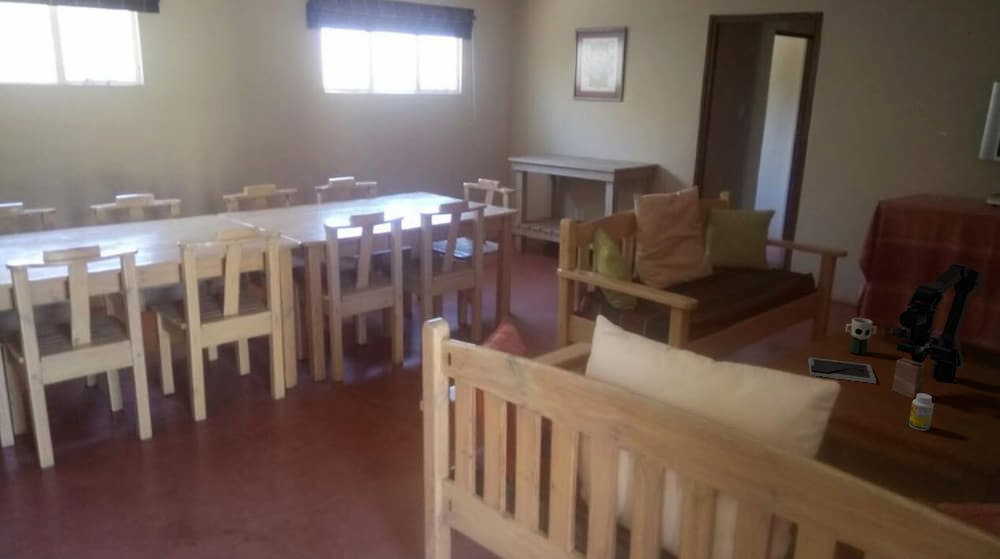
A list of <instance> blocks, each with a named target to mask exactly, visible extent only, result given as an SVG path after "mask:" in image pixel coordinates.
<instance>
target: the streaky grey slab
mask: <svg viewBox="0 0 1000 559" xmlns="http://www.w3.org/2000/svg"><path fill="white" fill-rule="evenodd" d="M924 369H925V364H924V363H922V364H921V363H918V362H915V361H912V359H908V358H905V357H902V358H898V359H897V360H896V363H895V369H894V374H893V375H894V376H893V383H892V388H891V392H894V391H895V392H894V393H897V392H898V393H897V394H900V395H902V394H903V396H905V395H906V397H908V398H910V399H913V398H916V396H917V394H918V393H921V388H922V383H923V382H922V381H923V376H924Z"/></svg>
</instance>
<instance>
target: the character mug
mask: <svg viewBox="0 0 1000 559" xmlns="http://www.w3.org/2000/svg"><path fill="white" fill-rule="evenodd" d="M849 327H850V329H849ZM872 329H873V331H872ZM877 330H878V326H876V325H873V320H870V319H868V318H862V317H854V318H852V319H851V323H847V324H846V325H845V333H850V336H852V338H851V341H850V345H849V350H848V351H850V352H851V353H853V354H856V355H858V354H861V355H866V354H868V340H867V339H869V338H871V336H872V335H876V334H877Z"/></svg>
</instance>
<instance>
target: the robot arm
mask: <svg viewBox="0 0 1000 559" xmlns="http://www.w3.org/2000/svg"><path fill="white" fill-rule="evenodd" d="M984 281H985V277H984V275H983V274H982V272H981V271H978V270H974V269H972V268H970V267H969V266H967V265H965V264H959V263H951V264H950V265H949V267H948V268H947V269H946V270H945V271H943V273H941V274H940V275H939V276H937V277H936V278H935V279H934V280H933V281H928V282H927V281H926V282H923V283H921V284H920V285H918V286H917V287H916V288H915V289H914V291H913V292H912V295H911V296H910V299H909V301H908V302H907V304H906V305H907V306H908V307H907V308H906V311H903V312H901V314H900V315H899V317H898V320H899V323H900V325H901V326H898V327H897V326H896V327H893V328H892V330H891V331H892V333H891V336H892V337H894V340H899V339H906V340H902V341H899V342H897V343H896V344H895V350H896V351H899V352H902V353H906V354H908V355H911V356H910V357H911V360H912V361H915V362H918V363H921V364H923V363H924V361H926V359H927V358H928V356H929V355H930V356H929V357H930V360H931V361H934V363H932V364H931V370H930V373H929V374H930V376H931V377H932V378H933V380H935V381H936V382H943V383H944V382H946V383H948V382H949V383H957V379H956V374H957V368H958V367H959V368H960V367H961V366H962V365H963V363H964V357H963V354H962V353H961V347H962V345H961V341H960V339H959V335H960V333H961V329H962V326H963V323H964V320H965V317H966V314H967V310H968V307H969V305H970V302H971V298H972V297H973V296H974V295H975V294H976V293H978V292H979V290H980V289H981V286H982V285H983V284H984ZM952 287H953V290H954V296H953V299H952V302H951V306H950V307H949V310H948V311H949V312H948V314H947V318H946V321H945V324H944V327H943V329H942V330H943V331H942V333H941V334H939V335H936V334H933V332H934V331H935V332H936V327H935V326H934V324H935V318H936V312H937V311H938V310H939V306H940V304H941V303H942V301H943V300H944V298H945V297H944V296H945V295H944V294H945V293H946V292H947V291H948V290H949V289H951V288H952ZM930 345H931V346H930Z"/></svg>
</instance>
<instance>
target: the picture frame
mask: <svg viewBox="0 0 1000 559" xmlns="http://www.w3.org/2000/svg"><path fill="white" fill-rule="evenodd" d="M808 368H809V373H810V374H809V375H810V376H811V375H814V376H813V377H816V376H818V377H817V378H820V377H819V376H823V377H830V378H829V379H831V378H834V379H833V380H838V379H846V380H851V381H850V382H854V381H860V382H859V383H862V382H868V383H867V384H870V383H874V384H873V385H876V384H877V379H876V377H875V373H874V371H873V368H872V366H871V364H868V363H862V362H861V363H860V362H851V361H844V360H834V359H826V358H818V357H811V356H809V357H808ZM823 377H822V378H823ZM846 380H845V381H846Z"/></svg>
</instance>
